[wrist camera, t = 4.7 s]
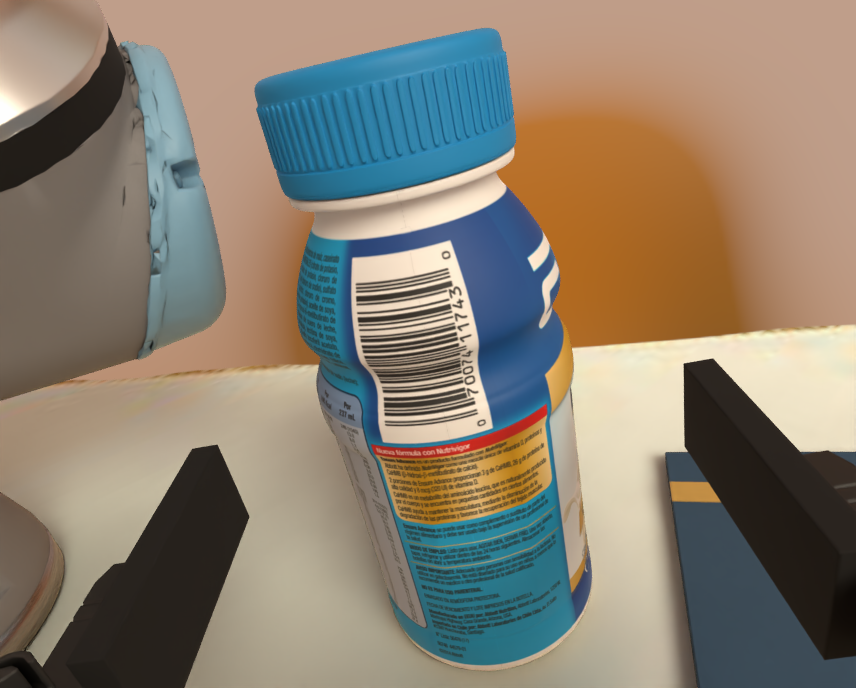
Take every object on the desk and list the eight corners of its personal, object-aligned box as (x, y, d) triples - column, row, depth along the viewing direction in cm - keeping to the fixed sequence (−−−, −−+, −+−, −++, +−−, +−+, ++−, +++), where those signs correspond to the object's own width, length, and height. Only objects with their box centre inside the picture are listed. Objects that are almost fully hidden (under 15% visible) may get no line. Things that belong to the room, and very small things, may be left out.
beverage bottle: (350, 606, 25) (159, 102, 16) (477, 488, 30) (385, 53, 21) (512, 735, 19) (352, 52, 10) (637, 561, 24) (601, 0, 15)
